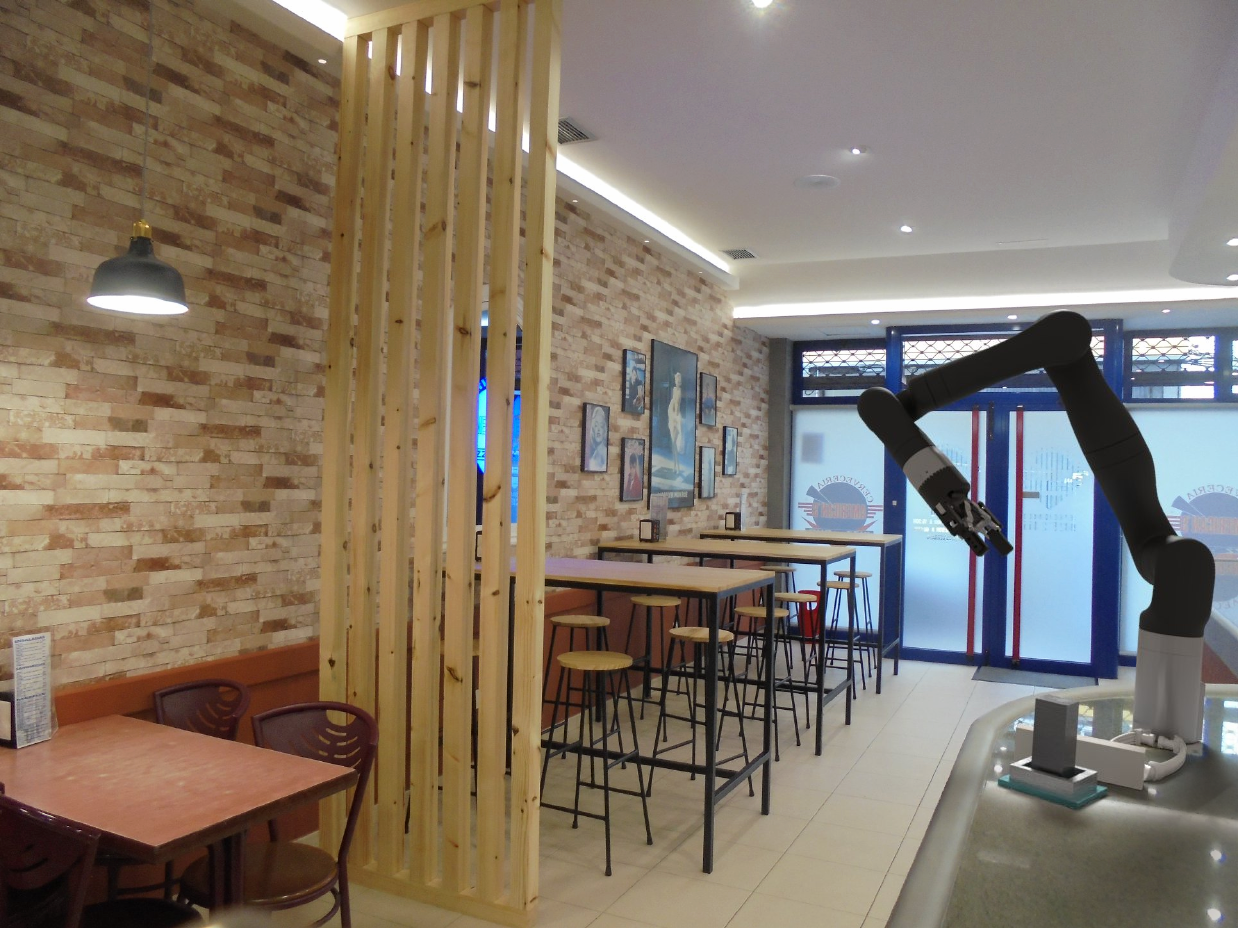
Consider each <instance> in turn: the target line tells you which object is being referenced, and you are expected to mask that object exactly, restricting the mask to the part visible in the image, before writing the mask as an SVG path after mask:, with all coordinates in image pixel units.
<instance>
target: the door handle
mask: <svg viewBox="0 0 1238 928" xmlns="http://www.w3.org/2000/svg"><path fill="white" fill-rule="evenodd" d="M1150 732H1151V730H1150V729H1147V730H1143V729H1141V728H1140V729H1134V730H1132V729H1131V730H1130V731H1129V732H1126V733H1123V734H1120V735H1117V736H1115V737H1113V738H1112V739H1110V740H1109V741H1113V742H1118V743H1123V744H1128V745H1131V744H1132V745H1138V744H1140V745H1142V744H1143V745H1148V746H1149V747H1151V746H1152V748H1154V747H1156V746H1155V745H1156V744H1157V749H1160V748H1161V750H1164V749H1166V750H1171V751H1172V753H1174V754H1177V755H1175V756H1174V757H1171V758H1170V759H1169V760H1165V761H1163V762H1158V761H1153V760H1150V761H1148V763H1147V764H1145V767H1144V782H1147V781H1148V782H1150V781H1154V782H1155V781H1160V780H1162V779H1163V778H1164V777H1167V776H1169V775H1172V774H1174V773H1175V772H1177V771H1178V770H1179V769H1180V768H1181V767H1182V766H1183V765H1184V763H1185V761H1186V758H1187V751H1188V747H1187V745H1186V744H1187V743H1184V741H1183V740H1182V739H1181V738H1180V737H1178V736H1177V735H1174V737H1175V738H1174V740H1171V737H1168V739H1167V738H1165V737H1163V736H1159V738H1158V740H1157V739H1156V736H1155V735H1154V734H1151V733H1150ZM1182 742H1183V743H1182ZM1134 743H1136V744H1134ZM1141 743H1142V744H1141ZM1163 748H1164V749H1163Z"/></svg>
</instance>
